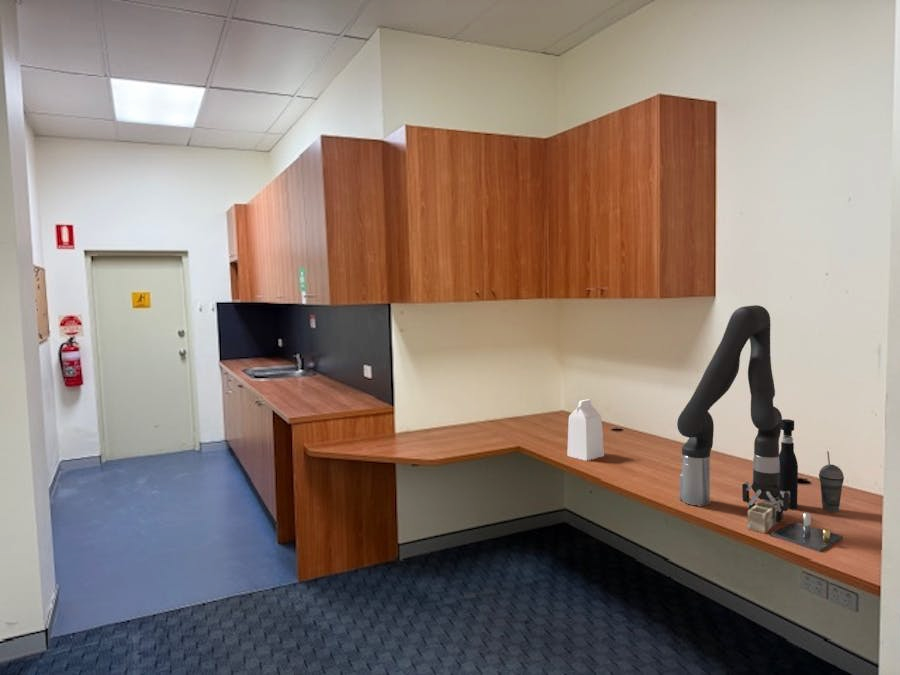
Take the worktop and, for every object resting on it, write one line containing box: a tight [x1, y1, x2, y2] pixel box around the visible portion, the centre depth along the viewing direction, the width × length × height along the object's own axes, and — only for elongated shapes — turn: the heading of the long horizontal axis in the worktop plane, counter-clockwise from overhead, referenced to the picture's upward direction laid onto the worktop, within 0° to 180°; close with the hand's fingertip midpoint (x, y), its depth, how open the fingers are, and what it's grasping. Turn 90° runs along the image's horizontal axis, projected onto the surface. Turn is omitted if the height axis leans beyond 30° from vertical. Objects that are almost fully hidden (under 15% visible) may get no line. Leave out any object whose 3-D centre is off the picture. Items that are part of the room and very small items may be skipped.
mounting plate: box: [770, 511, 844, 553], centre depth 180 cm, size 14×14×8 cm
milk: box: [566, 398, 605, 462], centre depth 274 cm, size 12×12×26 cm
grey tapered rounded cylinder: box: [818, 450, 845, 513], centre depth 201 cm, size 7×7×20 cm
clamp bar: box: [747, 500, 783, 534], centre depth 191 cm, size 17×5×6 cm, turn 134°
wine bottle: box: [778, 418, 799, 510], centre depth 205 cm, size 6×6×30 cm
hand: (765, 518), depth 192 cm, fingers open, 7 cm apart
